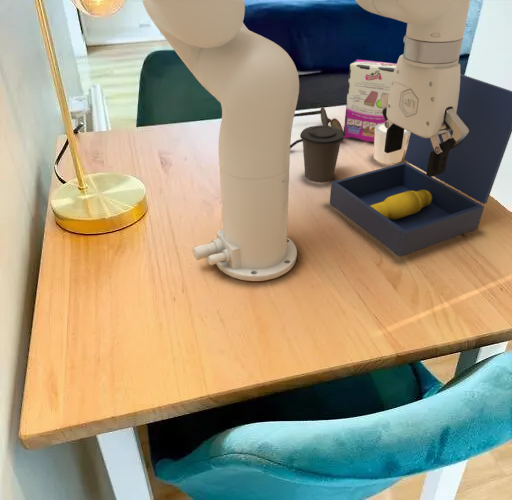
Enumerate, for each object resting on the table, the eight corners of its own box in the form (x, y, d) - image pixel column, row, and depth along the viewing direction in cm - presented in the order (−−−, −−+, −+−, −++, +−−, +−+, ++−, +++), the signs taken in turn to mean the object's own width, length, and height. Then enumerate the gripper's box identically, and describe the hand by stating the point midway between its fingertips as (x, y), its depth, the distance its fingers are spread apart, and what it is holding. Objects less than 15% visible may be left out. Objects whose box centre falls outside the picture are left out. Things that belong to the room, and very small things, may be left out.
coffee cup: (293, 184, 96) (295, 135, 91) (303, 167, 103) (306, 119, 97) (335, 191, 94) (340, 140, 88) (343, 172, 101) (348, 124, 95)
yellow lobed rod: (376, 231, 82) (379, 210, 79) (360, 219, 85) (363, 198, 82) (439, 210, 87) (443, 190, 85) (421, 200, 90) (426, 180, 88)
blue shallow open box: (398, 260, 76) (404, 233, 74) (329, 206, 90) (331, 181, 87) (476, 232, 83) (484, 206, 80) (400, 185, 96) (404, 161, 93)
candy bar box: (396, 139, 114) (409, 64, 105) (390, 147, 110) (402, 70, 101) (349, 130, 118) (357, 57, 109) (342, 138, 115) (349, 63, 105)
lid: (521, 95, 70) (543, 93, 72) (427, 63, 84) (447, 62, 86) (483, 204, 79) (503, 199, 81) (403, 160, 93) (422, 156, 95)
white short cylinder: (405, 168, 102) (411, 135, 98) (371, 166, 103) (375, 133, 99) (403, 154, 107) (408, 122, 103) (370, 152, 108) (374, 121, 104)
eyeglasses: (344, 146, 111) (347, 124, 108) (280, 154, 108) (280, 131, 105) (320, 122, 123) (322, 102, 120) (261, 129, 120) (261, 108, 117)
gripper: (370, 41, 75) (360, 147, 85) (459, 69, 63) (434, 190, 73) (409, 34, 78) (395, 138, 88) (501, 60, 65) (472, 178, 75)
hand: (413, 162), depth 80 cm, fingers open, 9 cm apart
